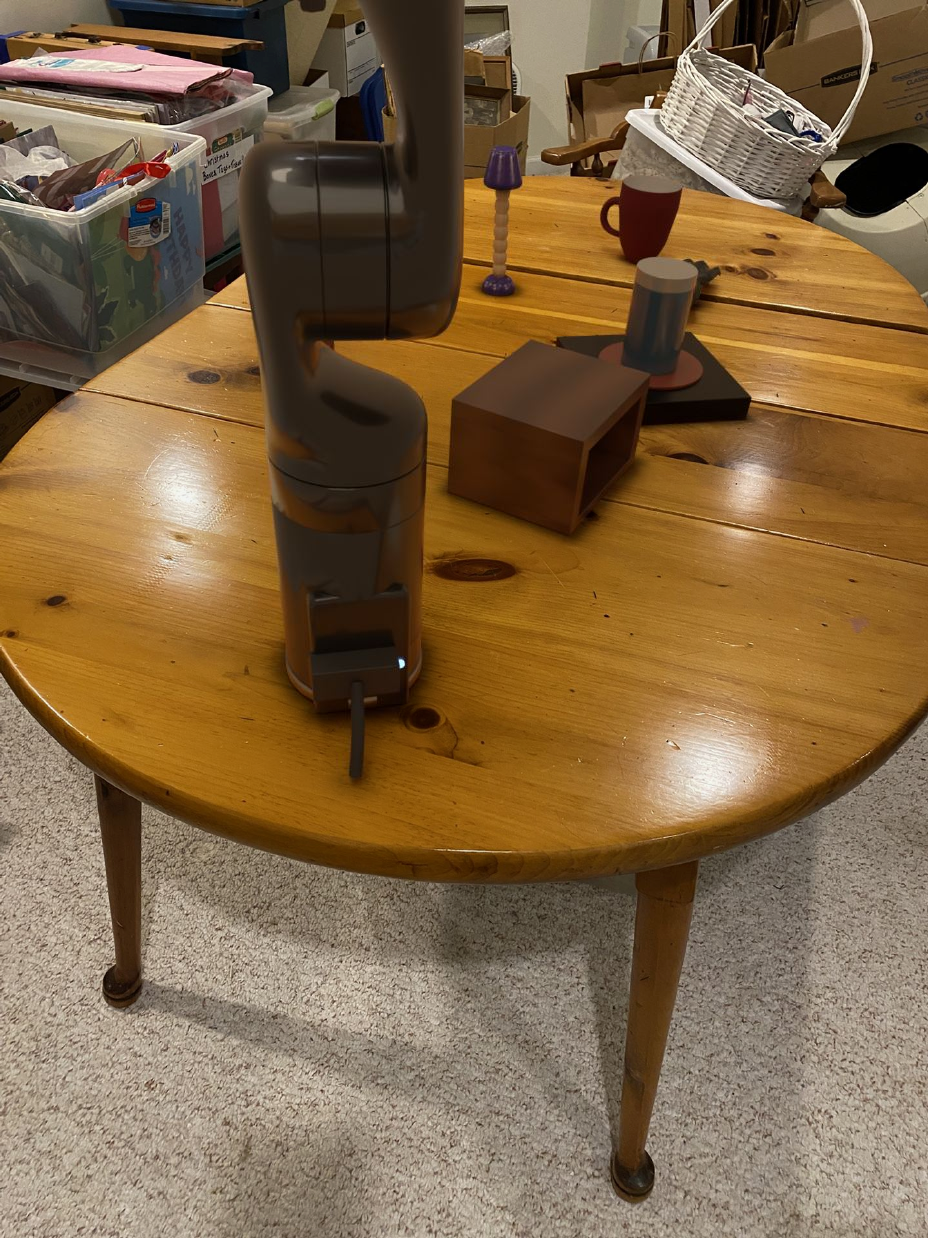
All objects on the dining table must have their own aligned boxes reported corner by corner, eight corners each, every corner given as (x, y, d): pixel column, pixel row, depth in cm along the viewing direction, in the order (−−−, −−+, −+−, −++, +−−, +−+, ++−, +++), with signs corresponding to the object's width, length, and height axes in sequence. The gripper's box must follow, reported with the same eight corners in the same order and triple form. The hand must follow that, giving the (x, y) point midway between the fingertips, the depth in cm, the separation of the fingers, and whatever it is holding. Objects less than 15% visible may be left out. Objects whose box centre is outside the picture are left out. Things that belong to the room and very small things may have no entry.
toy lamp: (493, 299, 115) (503, 155, 104) (469, 287, 118) (477, 145, 107) (521, 291, 118) (534, 149, 107) (497, 279, 120) (508, 140, 110)
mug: (587, 260, 128) (597, 183, 121) (600, 242, 134) (611, 168, 127) (662, 273, 125) (677, 196, 119) (672, 255, 131) (687, 180, 125)
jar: (686, 374, 96) (707, 278, 89) (631, 376, 95) (649, 279, 88) (664, 349, 100) (684, 256, 94) (612, 351, 99) (628, 257, 93)
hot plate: (745, 419, 95) (752, 394, 93) (598, 428, 92) (603, 402, 90) (686, 351, 107) (691, 328, 105) (553, 357, 104) (556, 333, 102)
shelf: (633, 461, 87) (651, 373, 81) (569, 536, 78) (584, 441, 72) (521, 425, 91) (530, 338, 86) (446, 491, 82) (451, 398, 76)
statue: (672, 294, 127) (656, 319, 110) (675, 251, 125) (658, 270, 108) (720, 293, 125) (710, 319, 108) (723, 250, 123) (714, 270, 106)
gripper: (222, -313, 55) (249, 11, 65) (426, -311, 50) (419, 39, 60) (300, -297, 60) (313, 1, 70) (492, -294, 55) (475, 27, 65)
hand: (362, 19), depth 65 cm, fingers open, 8 cm apart
